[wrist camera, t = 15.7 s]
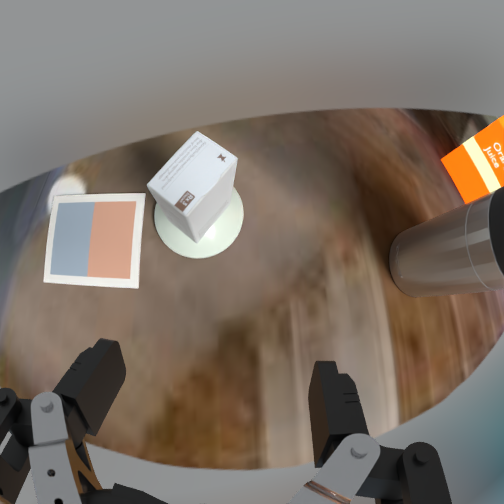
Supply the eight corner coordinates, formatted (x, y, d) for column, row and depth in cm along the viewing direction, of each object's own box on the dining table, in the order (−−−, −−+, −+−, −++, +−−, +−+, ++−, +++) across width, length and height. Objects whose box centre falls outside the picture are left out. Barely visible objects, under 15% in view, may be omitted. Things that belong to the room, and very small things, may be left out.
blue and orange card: (145, 193, 33) (145, 193, 33) (138, 288, 31) (138, 288, 31) (54, 196, 32) (54, 195, 32) (44, 282, 30) (43, 282, 30)
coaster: (243, 176, 35) (244, 173, 34) (242, 259, 33) (242, 258, 33) (160, 174, 34) (159, 171, 33) (152, 257, 32) (151, 256, 31)
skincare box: (202, 182, 33) (195, 124, 22) (233, 205, 33) (241, 154, 21) (166, 223, 32) (141, 181, 20) (198, 248, 32) (186, 217, 20)
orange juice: (460, 146, 41) (534, 93, 21) (484, 189, 40) (564, 148, 21) (439, 159, 40) (523, 99, 20) (466, 206, 39) (558, 163, 19)
